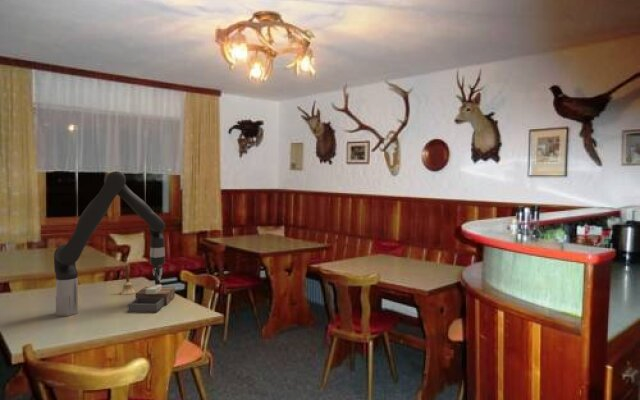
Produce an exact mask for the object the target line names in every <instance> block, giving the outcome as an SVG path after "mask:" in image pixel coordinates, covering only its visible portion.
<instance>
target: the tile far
mask: <svg viewBox="0 0 640 400" xmlns="http://www.w3.org/2000/svg"><path fill="white" fill-rule="evenodd" d="M149 287H159V291H160V290H161V289H162V287H163V285H162V284H160V285H155V284H151V285H150V286H149Z"/></svg>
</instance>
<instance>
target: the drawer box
mask: <svg viewBox="0 0 640 400" xmlns="http://www.w3.org/2000/svg"><path fill="white" fill-rule="evenodd" d="M148 287H149V286H144V287H143V288H141V289H140V290H138V291H136V293H135V299H136V298H137V297H140V298H165V306H168V305H169V304H170V303H171V302H172V301H173V300H174V299H176V298H175V297H176V295H175V294H176V290H175V289H176V288H175V286H162V289H161V290H160V291H159V292H158V293H156V294H146V289H147V288H148Z"/></svg>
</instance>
